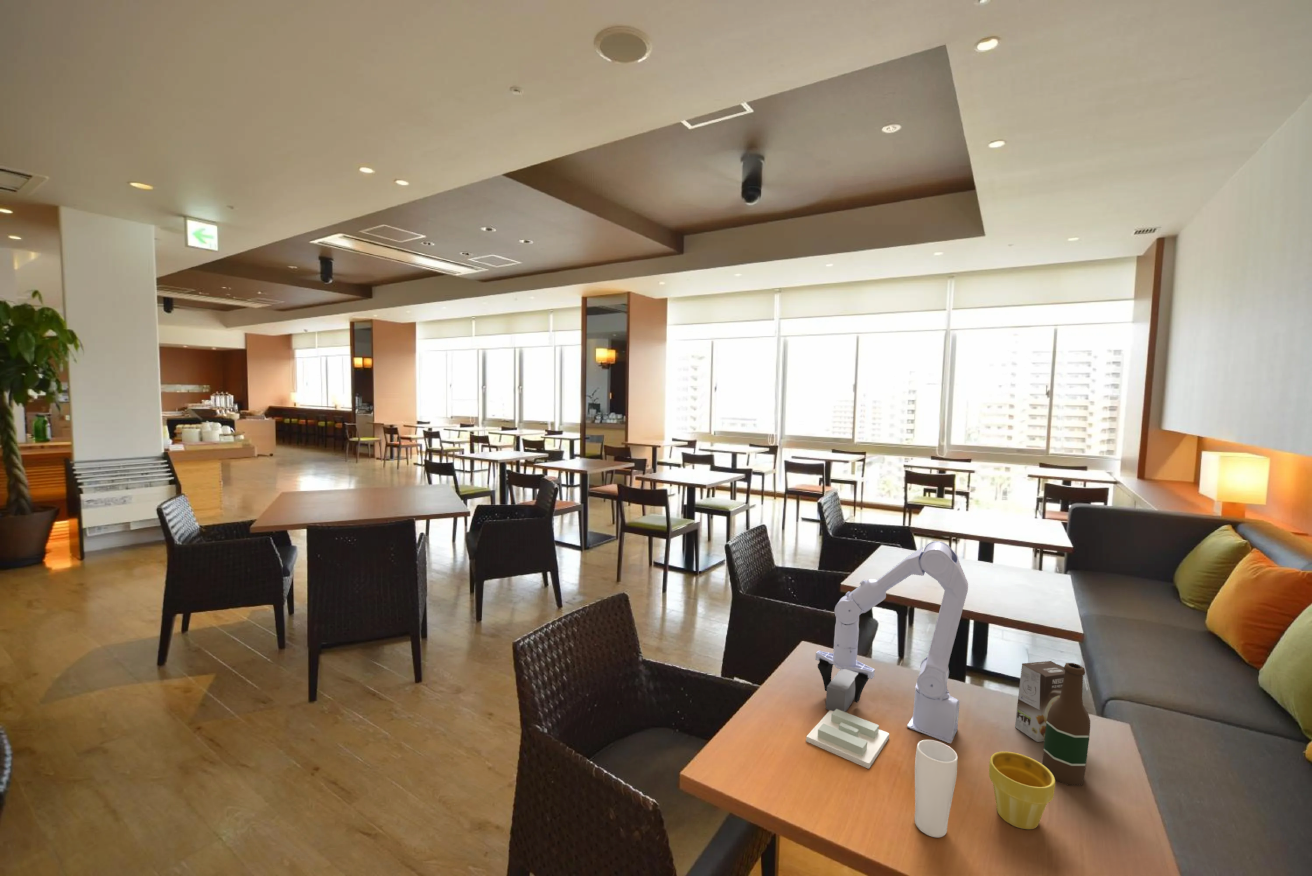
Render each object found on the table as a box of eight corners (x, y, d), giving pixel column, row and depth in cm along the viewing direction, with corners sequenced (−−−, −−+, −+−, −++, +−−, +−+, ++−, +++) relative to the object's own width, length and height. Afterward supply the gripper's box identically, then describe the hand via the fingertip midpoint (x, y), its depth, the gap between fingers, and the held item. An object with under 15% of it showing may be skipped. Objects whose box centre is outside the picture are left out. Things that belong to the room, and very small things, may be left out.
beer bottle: (1077, 767, 123) (1089, 661, 121) (1091, 791, 116) (1105, 678, 114) (1035, 758, 126) (1047, 654, 123) (1047, 781, 118) (1059, 670, 116)
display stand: (888, 738, 131) (890, 725, 131) (868, 769, 120) (869, 755, 120) (829, 714, 140) (830, 703, 139) (806, 741, 129) (806, 728, 128)
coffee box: (1038, 743, 131) (1045, 676, 130) (1013, 727, 137) (1020, 663, 136) (1068, 738, 134) (1075, 672, 132) (1043, 722, 140) (1050, 659, 138)
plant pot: (1009, 839, 102) (1014, 788, 102) (973, 797, 113) (978, 750, 112) (1063, 838, 103) (1069, 787, 102) (1023, 797, 113) (1028, 750, 113)
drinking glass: (958, 843, 101) (965, 763, 100) (919, 841, 101) (926, 762, 100) (940, 815, 108) (946, 739, 106) (903, 813, 108) (910, 738, 106)
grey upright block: (857, 695, 150) (858, 673, 149) (843, 715, 140) (845, 692, 139) (840, 689, 152) (841, 667, 152) (825, 709, 142) (827, 686, 142)
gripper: (812, 640, 146) (808, 691, 147) (869, 659, 137) (865, 712, 138) (823, 631, 151) (819, 680, 153) (878, 649, 142) (874, 700, 144)
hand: (842, 695), depth 146 cm, fingers open, 7 cm apart
